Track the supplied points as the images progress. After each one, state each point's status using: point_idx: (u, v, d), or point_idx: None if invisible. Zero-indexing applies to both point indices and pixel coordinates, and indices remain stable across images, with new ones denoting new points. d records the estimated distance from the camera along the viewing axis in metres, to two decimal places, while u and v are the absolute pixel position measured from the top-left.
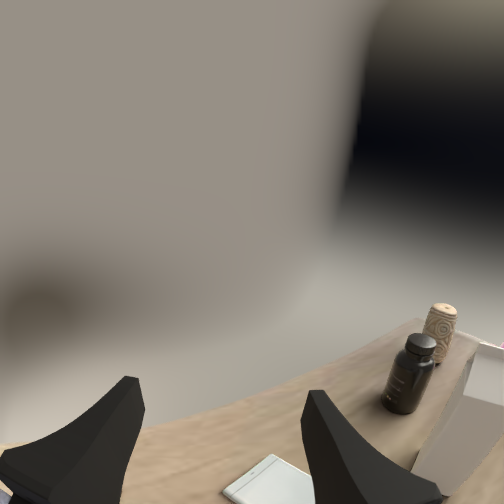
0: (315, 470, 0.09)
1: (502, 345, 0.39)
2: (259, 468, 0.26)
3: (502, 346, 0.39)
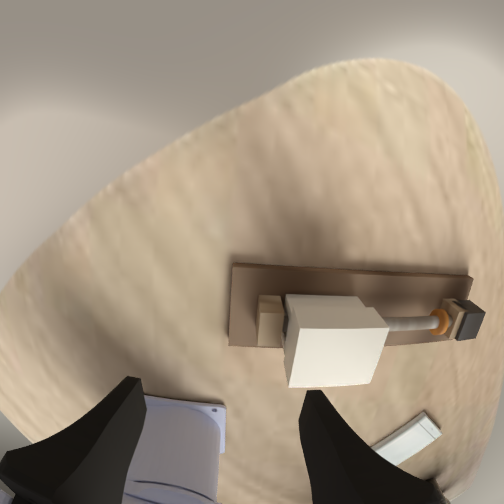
0: (313, 470, 0.09)
1: None
2: (433, 431, 0.25)
3: None
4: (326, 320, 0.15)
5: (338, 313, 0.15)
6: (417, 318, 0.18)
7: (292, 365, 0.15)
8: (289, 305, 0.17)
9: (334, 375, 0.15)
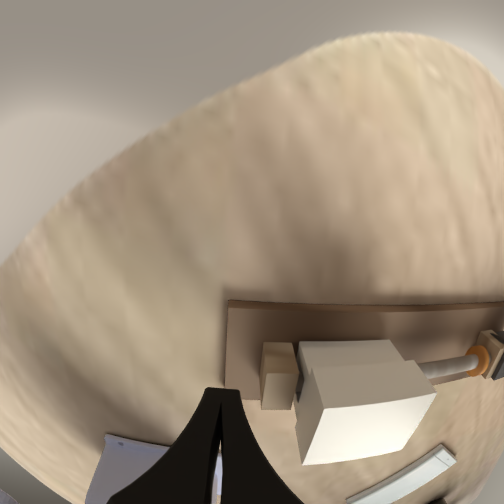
0: None
1: None
2: (449, 461, 0.20)
3: None
4: (358, 390, 0.09)
5: (372, 375, 0.10)
6: (455, 360, 0.13)
7: (309, 444, 0.09)
8: (305, 361, 0.12)
9: (361, 449, 0.10)
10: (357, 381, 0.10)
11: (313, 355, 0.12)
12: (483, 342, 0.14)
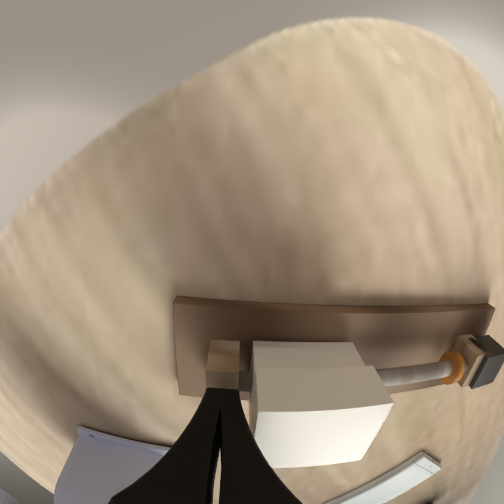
0: None
1: None
2: (432, 468, 0.20)
3: None
4: (301, 395, 0.09)
5: (321, 380, 0.10)
6: (425, 367, 0.13)
7: None
8: (254, 361, 0.12)
9: (312, 456, 0.09)
10: (302, 385, 0.10)
11: (264, 355, 0.12)
12: (460, 347, 0.14)
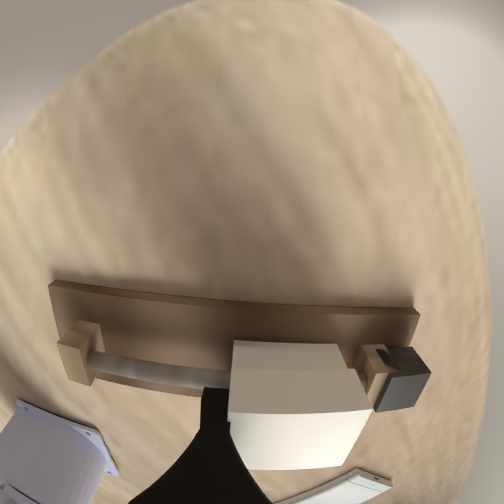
0: None
1: None
2: (377, 487, 0.20)
3: None
4: (274, 397, 0.09)
5: (297, 382, 0.10)
6: None
7: None
8: (232, 361, 0.12)
9: (288, 460, 0.09)
10: (276, 387, 0.10)
11: (243, 355, 0.12)
12: (362, 360, 0.13)
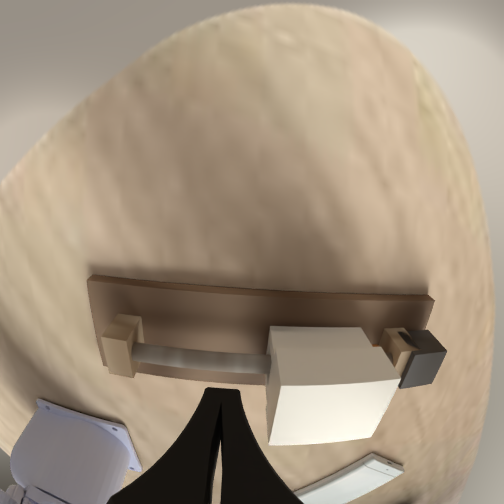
0: None
1: None
2: (390, 471, 0.21)
3: None
4: (318, 371, 0.10)
5: (335, 358, 0.11)
6: None
7: (272, 423, 0.10)
8: (272, 343, 0.13)
9: (327, 432, 0.11)
10: (318, 363, 0.11)
11: (281, 338, 0.13)
12: (386, 341, 0.15)
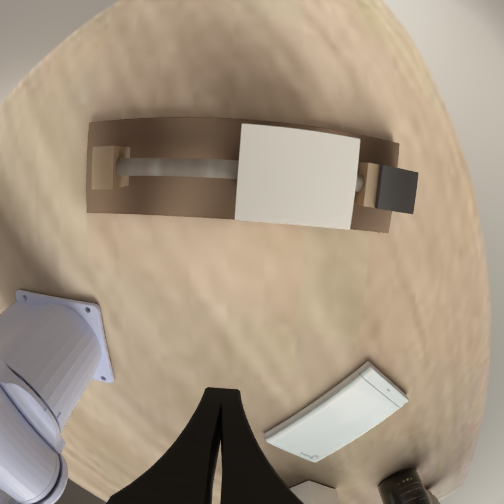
0: None
1: None
2: (392, 395, 0.22)
3: None
4: None
5: None
6: None
7: (237, 182, 0.12)
8: None
9: (296, 204, 0.12)
10: None
11: None
12: None
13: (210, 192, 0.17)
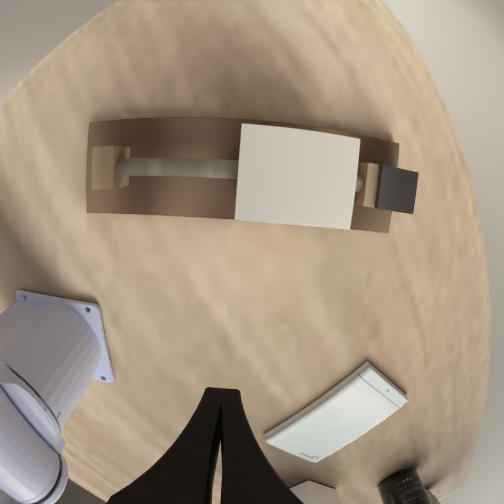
0: None
1: None
2: (392, 395, 0.22)
3: None
4: None
5: None
6: None
7: (237, 182, 0.12)
8: None
9: (296, 204, 0.12)
10: None
11: None
12: None
13: (210, 192, 0.17)
